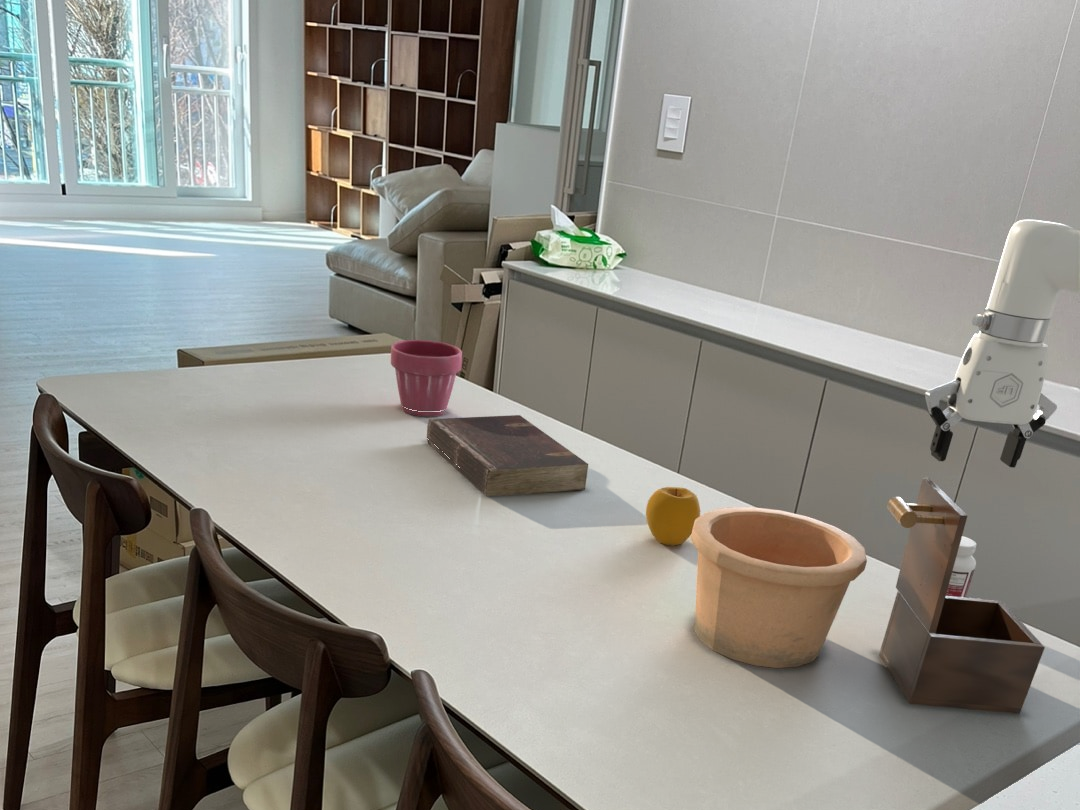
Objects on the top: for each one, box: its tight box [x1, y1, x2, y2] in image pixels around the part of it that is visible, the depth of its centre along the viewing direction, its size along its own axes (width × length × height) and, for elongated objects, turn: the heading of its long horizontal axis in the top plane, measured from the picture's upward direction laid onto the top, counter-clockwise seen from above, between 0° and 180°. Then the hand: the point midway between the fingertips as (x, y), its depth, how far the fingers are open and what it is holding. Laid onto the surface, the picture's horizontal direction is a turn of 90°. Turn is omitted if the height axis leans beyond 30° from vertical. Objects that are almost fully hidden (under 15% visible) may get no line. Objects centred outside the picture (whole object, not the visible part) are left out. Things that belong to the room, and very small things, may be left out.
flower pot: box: [390, 339, 463, 418], centre depth 215 cm, size 14×14×13 cm
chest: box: [878, 590, 1046, 715], centre depth 132 cm, size 14×13×9 cm
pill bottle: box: [946, 535, 978, 598], centre depth 152 cm, size 6×6×11 cm
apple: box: [645, 486, 701, 547], centre depth 166 cm, size 8×8×9 cm
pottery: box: [690, 506, 868, 669], centre depth 137 cm, size 22×22×14 cm
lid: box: [886, 477, 968, 633], centre depth 126 cm, size 15×13×6 cm
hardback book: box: [426, 414, 589, 497], centre depth 190 cm, size 29×19×5 cm, turn 25°
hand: (972, 461), depth 139 cm, fingers open, 9 cm apart
